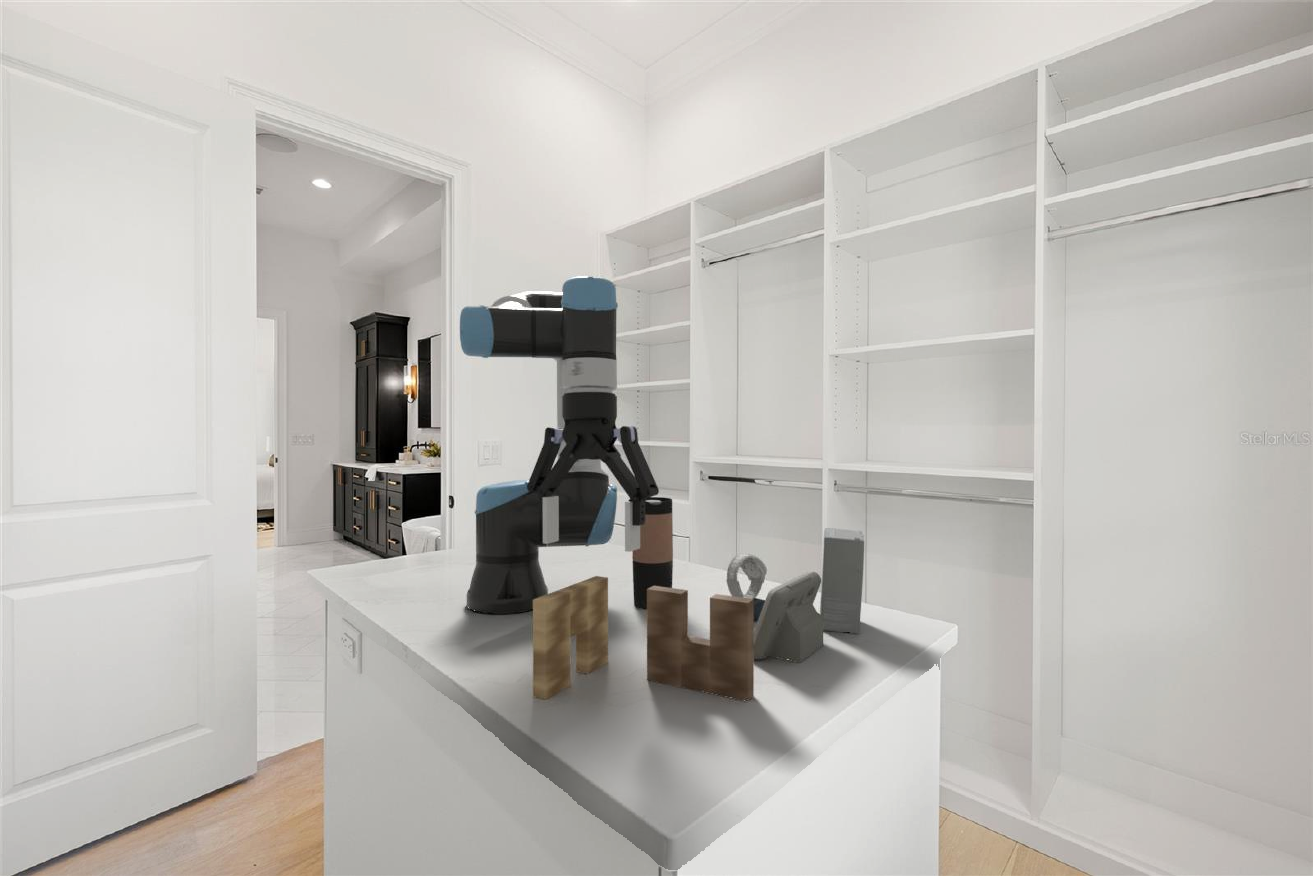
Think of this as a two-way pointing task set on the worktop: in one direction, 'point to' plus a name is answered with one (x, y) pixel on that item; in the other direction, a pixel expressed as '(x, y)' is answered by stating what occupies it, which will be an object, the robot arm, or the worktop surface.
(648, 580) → the travel mug
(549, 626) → the notched board
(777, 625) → the digital clock
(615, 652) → the worktop surface
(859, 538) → the skincare box
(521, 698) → the worktop surface
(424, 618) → the worktop surface
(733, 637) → the notched stand
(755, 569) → the watch
